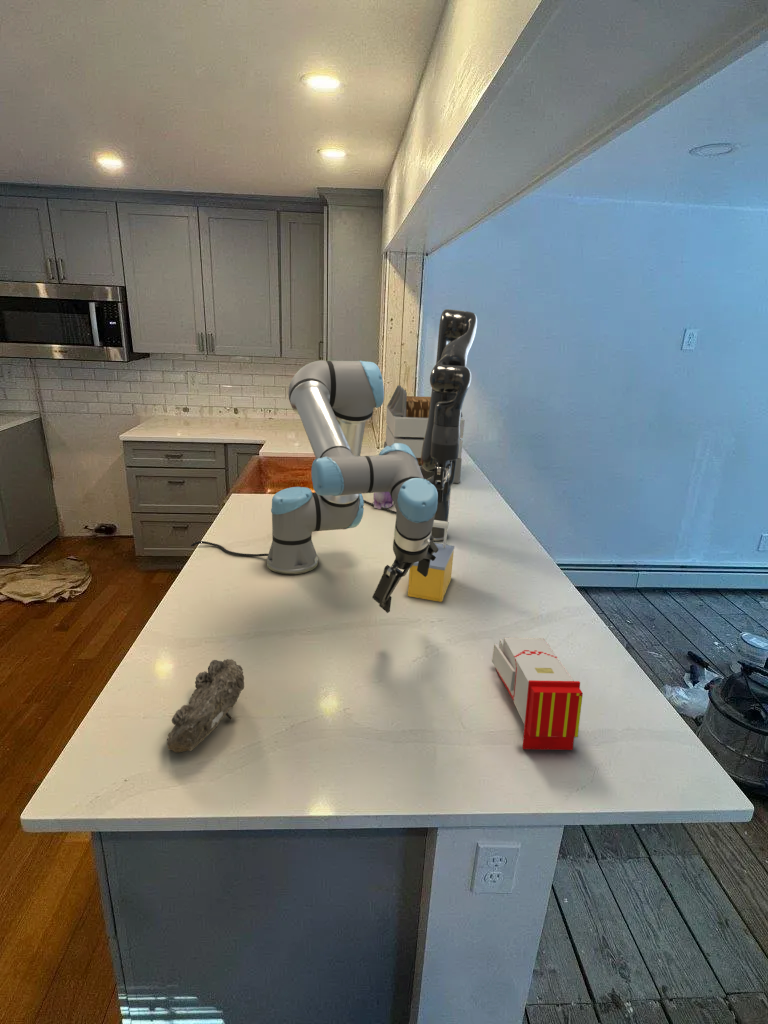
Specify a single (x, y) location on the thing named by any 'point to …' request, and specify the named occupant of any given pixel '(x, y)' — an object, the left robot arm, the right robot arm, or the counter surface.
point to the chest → (430, 582)
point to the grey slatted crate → (413, 424)
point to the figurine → (382, 500)
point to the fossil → (206, 705)
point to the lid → (441, 549)
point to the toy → (540, 692)
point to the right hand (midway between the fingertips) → (440, 497)
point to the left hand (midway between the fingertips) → (403, 590)
